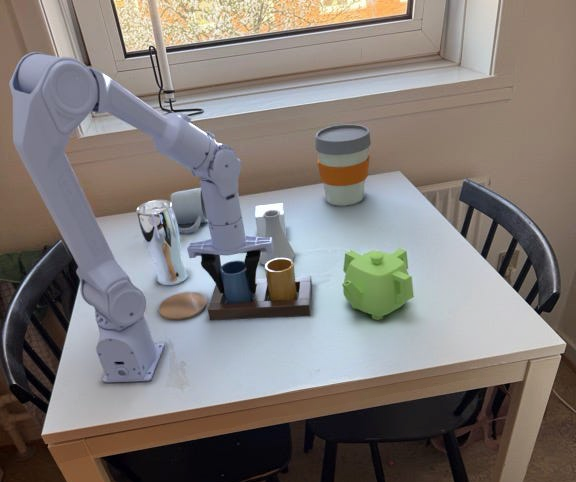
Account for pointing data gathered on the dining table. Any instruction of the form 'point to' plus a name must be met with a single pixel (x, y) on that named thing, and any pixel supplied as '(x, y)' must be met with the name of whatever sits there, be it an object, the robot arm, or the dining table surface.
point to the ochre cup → (281, 279)
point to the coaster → (182, 306)
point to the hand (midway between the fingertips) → (238, 289)
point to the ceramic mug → (188, 208)
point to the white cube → (261, 220)
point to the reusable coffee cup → (343, 162)
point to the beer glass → (162, 240)
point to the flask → (276, 238)
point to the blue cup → (236, 282)
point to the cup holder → (262, 303)
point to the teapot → (377, 281)
